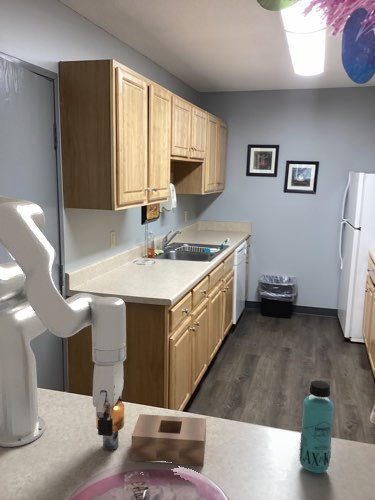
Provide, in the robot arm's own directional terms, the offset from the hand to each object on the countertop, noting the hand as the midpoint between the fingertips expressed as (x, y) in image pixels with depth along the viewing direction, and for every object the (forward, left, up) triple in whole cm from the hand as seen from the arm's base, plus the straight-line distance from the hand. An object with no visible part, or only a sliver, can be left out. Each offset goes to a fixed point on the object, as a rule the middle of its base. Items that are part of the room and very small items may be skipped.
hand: (110, 423), depth 99 cm
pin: (0, 0, -6) cm, 6 cm away
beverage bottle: (+46, -3, -6) cm, 46 cm away
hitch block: (+14, 0, -6) cm, 15 cm away
